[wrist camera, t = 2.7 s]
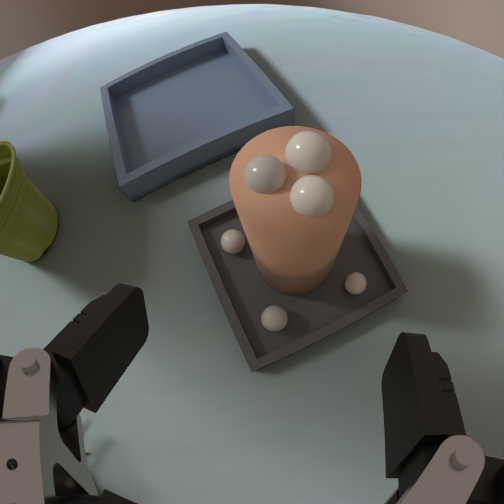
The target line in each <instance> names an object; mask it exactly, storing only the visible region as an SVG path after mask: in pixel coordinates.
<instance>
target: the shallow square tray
mask: <svg viewBox="0 0 504 504" xmlns="http://www.w3.org/2000/svg"><path fill="white" fill-rule="evenodd" d="M100 90H101V96H102V102H103V108H104V114H105V120H106V126H107V131H108V136H109V141H110V146H111V151H112V156H113V161H114V165H115V170H116V174H117V178H118V183H119V187H120V188H121V189H122V190H123V191H124V192H125V193H126V194H127V196H128V197H129V198H130V199H131V200H132V201H133V202H134V201H136V200H137V199H139V198H141V197H143V196H145V195H147V194H149V193H151V192H153V191H155V190H157V189H159V188H161V187H163V186H165V185H167V184H169V183H171V182H173V181H175V180H177V179H179V178H181V177H183V176H185V175H187V174H189V173H191V172H194V171H196V170H198V169H200V168H202V167H204V166H206V165H209V164H211V163H213V162H215V161H217V160H220V159H222V158H224V157H226V156H229V155H231V154H233V153H235V152H238V151H240V150H241V149H242V147H243V146H244V145H245V144H246V143H248V142H249V141H250V140H251V139H253V138H254V137H256V136H257V135H259V134H261V133H263V132H265V131H268V130H271V129H274V128H278V127H284V126H294V108H293V107H292V106H291V104H290V103H289V102H288V101H287V99H286V98H285V97H284V96H283V95H282V93H281V92H280V91H279V90H278V89H277V87H276V86H275V85H274V84H273V83H272V81H271V80H270V79H269V78H268V77H267V76H266V74H265V73H264V72H263V71H262V70H261V69H260V68H259V66H258V65H257V64H256V63H255V62H254V61H253V60H252V59H251V58H250V56H249V55H248V54H247V53H246V52H245V51H244V50H243V49H242V48H241V47H240V46H239V44H238V43H237V42H236V41H235V40H234V39H233V38H232V37H231V36H230V35H229V34H228V33H227V32H224V33H221V34H218V35H215V36H213V37H210V38H207V39H204V40H201V41H199V42H196V43H194V44H191V45H188V46H186V47H183V48H181V49H179V50H176V51H174V52H171V53H169V54H167V55H164V56H162V57H160V58H158V59H156V60H153V61H151V62H149V63H147V64H145V65H143V66H141V67H139V68H137V69H135V70H133V71H131V72H129V73H127V74H125V75H123V76H121V77H119V78H117V79H115V80H113V81H111V82H110V83H108V84H106V85H104V86H102V87H101V88H100Z"/></svg>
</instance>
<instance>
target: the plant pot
mask: <svg viewBox="0 0 504 504" xmlns="http://www.w3.org/2000/svg"><path fill="white" fill-rule="evenodd" d="M57 227H58V214H57V212H56V210H55V208H54V206H53V205H52V204H51V203H50V201H49V200H48V199H47V198H46V197H45V196H44V195H43V193H42V192H41V191H40V190H39V189H38V188H37V186H36V185H35V184H34V183H33V182H32V180H31V179H30V178H29V177H28V175H27V174H26V173H25V172H24V170H23V169H22V166H21V163H20V161H19V160H18V159H17V157H16V151H15V148H14V147H13V145H12V144H11V143H10V142H7V141H2V142H0V254H2V255H5V256H8V257H12V258H15V259H18V260H22V261H25V262H33V261H35V260H37V259H39V258H40V257H41V256H42V254H43V252H44V251H45V249H46V248H47V247H49V246H50V245H51V244H52V242H53V240H54V238H55V235H56V232H57Z"/></svg>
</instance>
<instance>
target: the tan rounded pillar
mask: <svg viewBox="0 0 504 504" xmlns="http://www.w3.org/2000/svg"><path fill="white" fill-rule="evenodd" d="M229 188H230V192H231V196H232V199H233V202H234V204H235V207H236V210H237V213H238V215H239V218H240V221H241V224H242V226H243V229H244V232H245V234H246V237H247V240H248V243H249V245H250V248H251V251H252V253H253V256H254V259H255V262H256V264H257V267H258V270H259V272H260V275H261V277H262V278H263V280H264V281H265V282H266V283H267V284H268V285H269V286H270V287H271V288H272V289H274V290H275V291H277V292H279V293H282V294H285V295H291V296H299V295H304V294H308V293H310V292H312V291H314V290H316V289H317V288H319V287H320V286H321V285H322V284H323V283H324V282H325V280H326V279H327V278H328V276H329V274H330V271H331V269H332V266H333V264H334V262H335V259H336V257H337V254H338V252H339V249H340V247H341V244H342V242H343V239H344V237H345V234H346V231H347V229H348V226H349V224H350V221H351V218H352V216H353V213H354V210H355V208H356V205H357V202H358V199H359V196H360V192H361V174H360V170H359V166H358V164H357V162H356V160H355V158H354V156H353V155H352V153H351V152H350V151H349V149H348V148H347V147H346V146H345V145H344V144H343V143H342V142H340V141H339V140H338V139H336V138H335V137H333V136H332V135H330V134H328V133H326V132H323V131H321V130H318V129H315V128H310V127H305V126H284V127H278V128H274V129H271V130H268V131H265V132H263V133H261V134H259V135H257V136H256V137H254V138H253V139H251V140H250V141H249V142H248V143H246V144H245V145H244V146H243V147H242V149H241V150H240V151H239V152H238V154H237V155H236V157H235V159H234V161H233V163H232V166H231V170H230V174H229Z"/></svg>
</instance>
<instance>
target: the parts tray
mask: <svg viewBox="0 0 504 504" xmlns="http://www.w3.org/2000/svg"><path fill="white" fill-rule="evenodd" d="M188 224H189V226H190V229H191V231H192V234H193V236H194V239H195V241H196V244H197V246H198V249H199V251H200V254H201V256H202V258H203V261H204V263H205V266H206V268H207V271H208V273H209V275H210V278H211V280H212V283H213V285H214V287H215V290H216V292H217V294H218V297H219V299H220V301H221V304H222V306H223V308H224V311H225V313H226V315H227V318H228V320H229V322H230V324H231V327H232V329H233V331H234V334H235V336H236V338H237V340H238V343H239V345H240V347H241V349H242V351H243V354H244V356H245V358H246V360H247V362H248V365H249V367H250V369H251V371H252V372H253V371H255V370H258V369H260V368H262V367H264V366H267V365H269V364H271V363H273V362H276V361H278V360H280V359H282V358H284V357H286V356H288V355H291V354H293V353H295V352H297V351H299V350H301V349H303V348H305V347H307V346H309V345H311V344H313V343H315V342H317V341H319V340H321V339H323V338H325V337H327V336H329V335H331V334H333V333H335V332H337V331H339V330H341V329H343V328H344V327H346V326H348V325H350V324H352V323H354V322H356V321H357V320H359V319H361V318H363V317H365V316H367V315H368V314H370V313H372V312H374V311H375V310H377V309H379V308H381V307H382V306H384V305H386V304H388V303H389V302H391V301H393V300H394V299H396V298H398V297H400V296H401V295H403V294H404V293H406V292H407V289H406V287H405V285H404V283H403V281H402V280H401V278H400V276H399V274H398V272H397V271H396V269H395V267H394V265H393V263H392V262H391V260H390V258H389V256H388V255H387V253H386V251H385V250H384V248H383V246H382V244H381V243H380V241H379V239H378V238H377V236H376V234H375V233H374V231H373V229H372V228H371V226H370V225H369V223H368V221H367V220H366V218H365V216H364V215H363V213H362V212H361V210H360V209H359V207H358V205H356V208H355V210H354V213H353V216H352V218H351V221H350V224H349V226H348V229H347V231H346V234H345V237H344V239H343V242H342V244H341V247H340V249H339V252H338V254H337V257H336V259H335V262H334V264H333V266H332V269H331V271H330V274H329V276H328V278H327V279H326V280H325V282H324V283H323V284H322V285H321V286H320V287H319V288H317V289H316V290H314V291H312V292H310V293H308V294H304V295H299V296H291V295H285V294H282V293H279V292H277V291H275V290H274V289H272V288H271V287H270V286H269V285H268V284H267V283H266V282H265V281H264V280H263V278H262V277H261V275H260V272H259V270H258V267H257V264H256V262H255V259H254V256H253V253H252V251H251V248H250V245H249V243H248V240H247V237H246V234H245V232H244V229H243V226H242V224H241V221H240V218H239V215H238V213H237V210H236V207H235V204H234V202H233V200H232V201H230V202H228V203H226V204H223V205H221V206H219V207H217V208H215V209H213V210H211V211H208V212H206V213H204V214H202V215H200V216H198V217H196V218H194V219H192V220H190V221H188Z"/></svg>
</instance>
